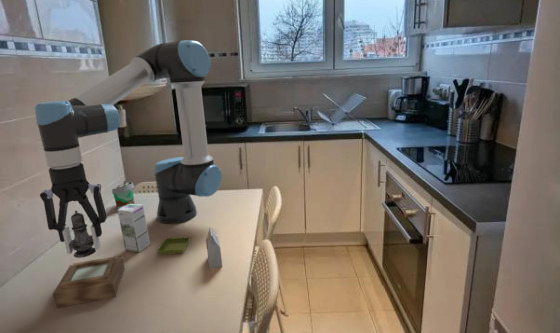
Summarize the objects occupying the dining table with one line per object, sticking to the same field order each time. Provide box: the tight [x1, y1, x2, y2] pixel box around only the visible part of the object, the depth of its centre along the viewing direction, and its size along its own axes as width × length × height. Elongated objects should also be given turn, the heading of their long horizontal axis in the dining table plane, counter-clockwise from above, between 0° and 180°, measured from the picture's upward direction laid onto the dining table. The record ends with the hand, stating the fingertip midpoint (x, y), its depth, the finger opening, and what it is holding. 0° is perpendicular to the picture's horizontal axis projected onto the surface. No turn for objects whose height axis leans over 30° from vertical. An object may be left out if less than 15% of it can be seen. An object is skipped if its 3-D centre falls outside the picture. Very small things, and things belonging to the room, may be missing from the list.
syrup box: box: [117, 203, 151, 253], centre depth 116 cm, size 6×6×14 cm
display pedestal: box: [52, 256, 126, 309], centre depth 97 cm, size 14×14×5 cm
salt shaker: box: [70, 210, 97, 259], centre depth 93 cm, size 6×6×12 cm
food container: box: [111, 180, 135, 211], centre depth 155 cm, size 12×6×10 cm, turn 179°
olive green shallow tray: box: [156, 236, 191, 255], centre depth 116 cm, size 9×9×2 cm
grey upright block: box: [205, 227, 223, 269], centre depth 105 cm, size 4×7×10 cm, turn 14°
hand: (84, 249), depth 94 cm, fingers closed on salt shaker, 6 cm apart
